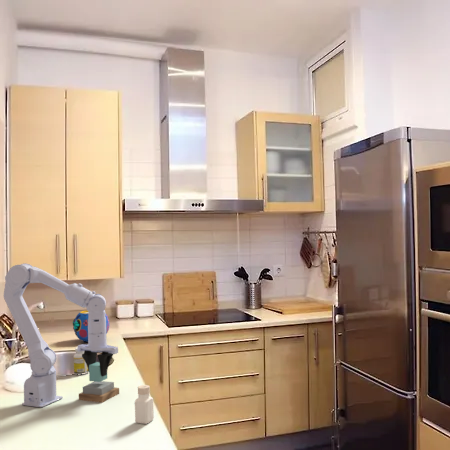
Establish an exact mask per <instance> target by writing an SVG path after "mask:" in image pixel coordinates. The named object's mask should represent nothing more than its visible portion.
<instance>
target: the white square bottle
mask: <svg viewBox="0 0 450 450" xmlns="http://www.w3.org/2000/svg"><path fill="white" fill-rule="evenodd" d="M150 387H151V386H150V385H149V384H142V385H138V387H137V394H138V395H137V396H138V397H137V398H136V399H135V401H134V418H135V419H134V422H135V424H143V425H147V423H148V424H149V423H151V422H152V421H153V420H154V417H155V416H154V398H153V397H151V396H150V393H151V388H150Z"/></svg>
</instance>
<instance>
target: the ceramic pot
mask: <svg viewBox="0 0 450 450" xmlns="http://www.w3.org/2000/svg"><path fill="white" fill-rule="evenodd" d="M105 317H106V335H107V334H108V333H109V330H110V319H109V316H108V314H107V313H106V315H105ZM72 326H73V327H72V329H73V331H74V334H75V336H76V337H77V338H78V339H79V340H81V341H83V342H86V343H88V311H87V310H82V311H79V312H78V313H77V315H76V316H75V318H74V319H73V320H72Z"/></svg>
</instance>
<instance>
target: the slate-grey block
mask: <svg viewBox="0 0 450 450" xmlns="http://www.w3.org/2000/svg"><path fill="white" fill-rule="evenodd" d="M114 387H115V382H113V381H105V380H103V381H101V382H95V381H91V382H90V383H88V384H86V385H85V386H84V385H83V386H82V392H83V393H84V394H95V395H103V394H105V393H107V392H108V391H110V390H112V389H114Z"/></svg>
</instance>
